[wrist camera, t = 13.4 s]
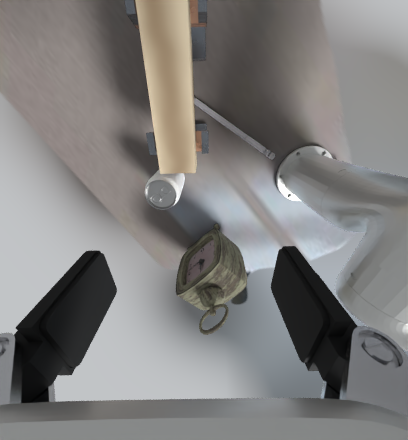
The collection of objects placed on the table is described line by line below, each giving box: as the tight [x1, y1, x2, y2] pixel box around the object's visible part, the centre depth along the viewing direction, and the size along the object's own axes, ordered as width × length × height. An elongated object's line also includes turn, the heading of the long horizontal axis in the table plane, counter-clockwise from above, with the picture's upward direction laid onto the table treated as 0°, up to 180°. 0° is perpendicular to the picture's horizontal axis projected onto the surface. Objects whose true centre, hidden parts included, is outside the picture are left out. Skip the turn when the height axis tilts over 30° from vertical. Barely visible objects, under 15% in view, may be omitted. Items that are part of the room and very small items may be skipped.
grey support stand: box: [125, 0, 208, 155], centre depth 28 cm, size 9×20×13 cm, turn 1°
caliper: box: [194, 97, 276, 160], centre depth 34 cm, size 20×1×6 cm, turn 58°
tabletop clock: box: [176, 224, 247, 335], centre depth 40 cm, size 14×9×25 cm, turn 137°
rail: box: [135, 0, 197, 174], centre depth 22 cm, size 5×22×6 cm, turn 2°
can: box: [145, 169, 185, 210], centre depth 36 cm, size 6×6×12 cm
